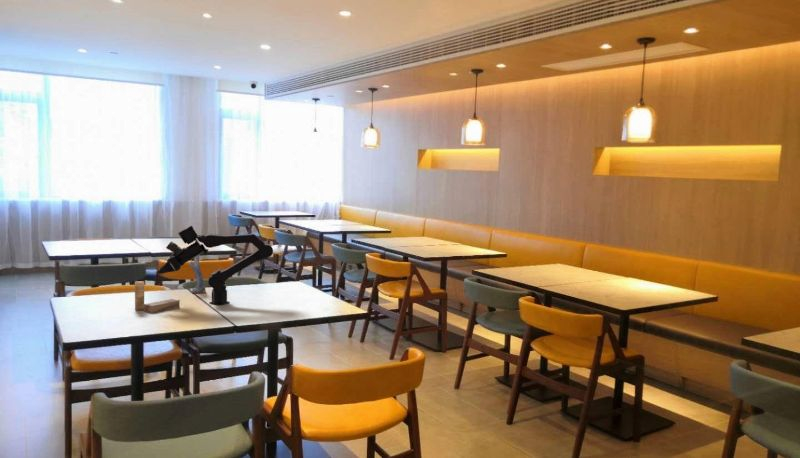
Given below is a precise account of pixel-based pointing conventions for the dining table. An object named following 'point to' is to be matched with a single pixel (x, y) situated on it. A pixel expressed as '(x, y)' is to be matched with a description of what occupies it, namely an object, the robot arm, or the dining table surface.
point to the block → (161, 305)
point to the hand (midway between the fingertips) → (159, 271)
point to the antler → (197, 276)
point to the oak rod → (139, 295)
